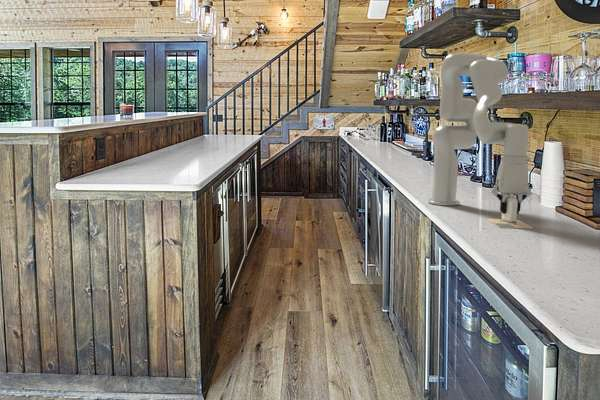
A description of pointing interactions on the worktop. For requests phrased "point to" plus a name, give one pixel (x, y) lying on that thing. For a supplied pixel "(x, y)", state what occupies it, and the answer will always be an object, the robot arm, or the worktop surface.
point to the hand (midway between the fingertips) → (509, 212)
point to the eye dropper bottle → (510, 208)
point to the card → (509, 224)
